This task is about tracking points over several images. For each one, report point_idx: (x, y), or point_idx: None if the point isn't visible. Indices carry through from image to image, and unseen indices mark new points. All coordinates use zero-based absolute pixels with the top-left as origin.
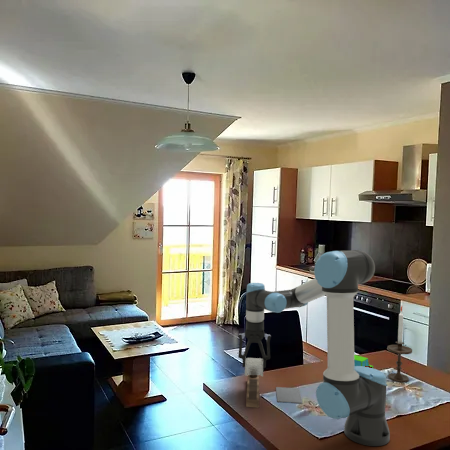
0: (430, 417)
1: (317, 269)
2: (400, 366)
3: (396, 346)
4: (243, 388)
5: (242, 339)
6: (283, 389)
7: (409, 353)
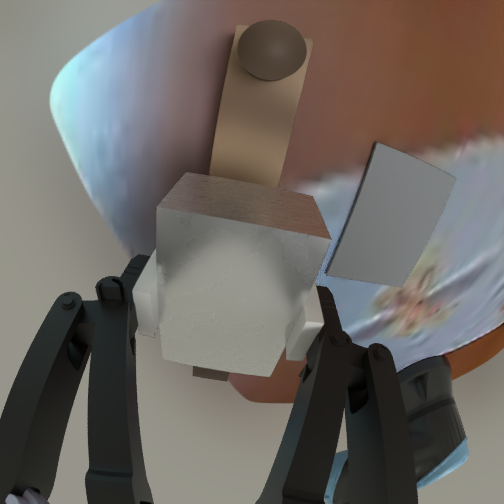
0: None
1: None
2: None
3: None
4: (200, 128)
5: (42, 491)
6: (399, 175)
7: None
